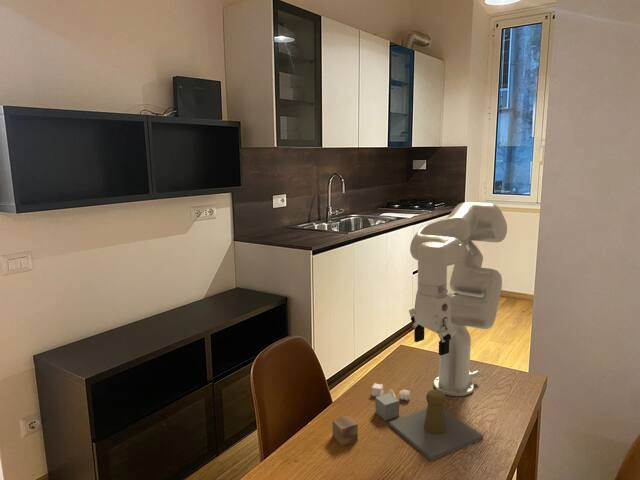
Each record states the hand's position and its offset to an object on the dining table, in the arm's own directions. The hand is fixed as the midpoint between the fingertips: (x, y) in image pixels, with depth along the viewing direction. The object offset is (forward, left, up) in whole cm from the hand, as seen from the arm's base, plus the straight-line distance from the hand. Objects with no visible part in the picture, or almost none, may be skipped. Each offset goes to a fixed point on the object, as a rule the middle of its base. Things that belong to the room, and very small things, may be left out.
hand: (431, 347), depth 133 cm
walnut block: (+24, -7, -24) cm, 34 cm away
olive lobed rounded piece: (+1, +3, -23) cm, 23 cm away
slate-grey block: (+7, -11, -24) cm, 27 cm away
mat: (+1, +3, -24) cm, 24 cm away
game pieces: (0, -18, -24) cm, 30 cm away
